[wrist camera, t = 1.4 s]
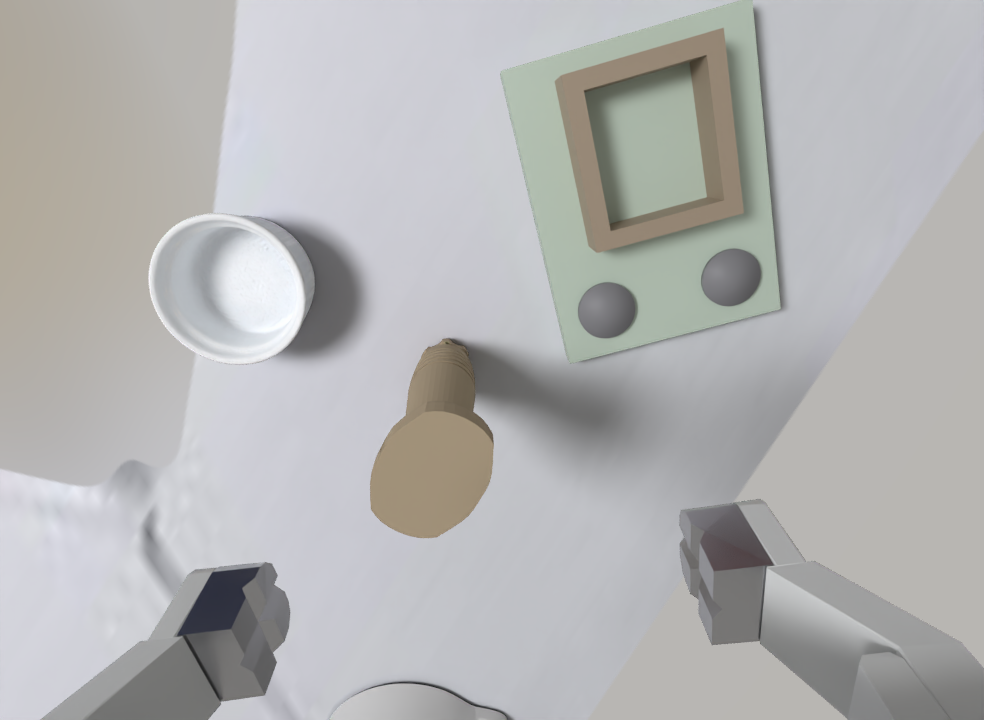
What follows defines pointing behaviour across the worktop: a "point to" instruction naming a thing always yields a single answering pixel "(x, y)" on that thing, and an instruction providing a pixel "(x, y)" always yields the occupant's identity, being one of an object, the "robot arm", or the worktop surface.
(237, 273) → the ramekin
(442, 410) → the handle
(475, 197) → the worktop surface
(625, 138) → the green board with frame
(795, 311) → the worktop surface
